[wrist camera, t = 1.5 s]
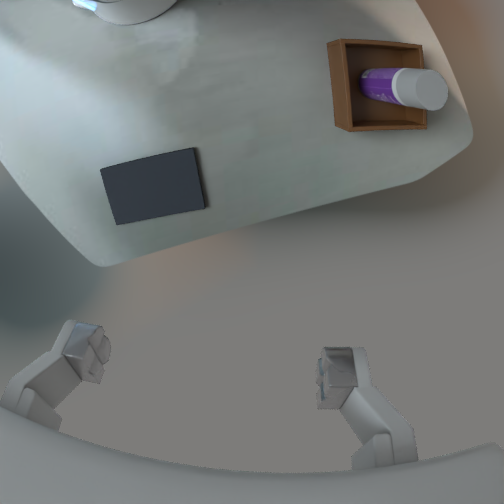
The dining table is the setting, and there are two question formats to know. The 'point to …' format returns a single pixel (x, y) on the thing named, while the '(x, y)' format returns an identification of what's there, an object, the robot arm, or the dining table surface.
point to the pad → (153, 186)
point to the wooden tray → (351, 99)
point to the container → (404, 87)
